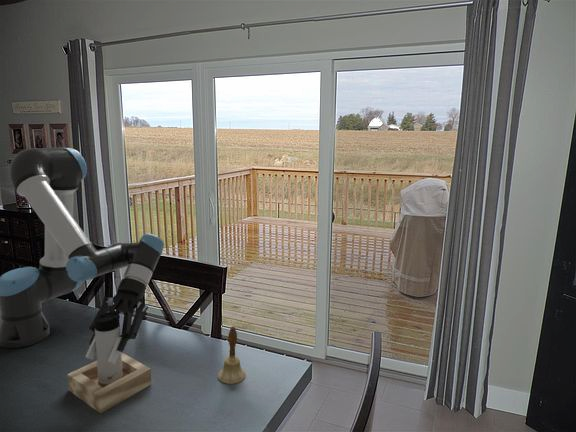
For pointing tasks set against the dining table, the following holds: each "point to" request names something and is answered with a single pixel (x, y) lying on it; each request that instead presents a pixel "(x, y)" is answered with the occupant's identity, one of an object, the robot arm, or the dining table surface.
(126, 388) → the wooden tray
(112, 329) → the travel mug
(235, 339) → the hand bell
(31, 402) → the dining table surface
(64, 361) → the dining table surface
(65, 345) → the dining table surface
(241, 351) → the dining table surface
